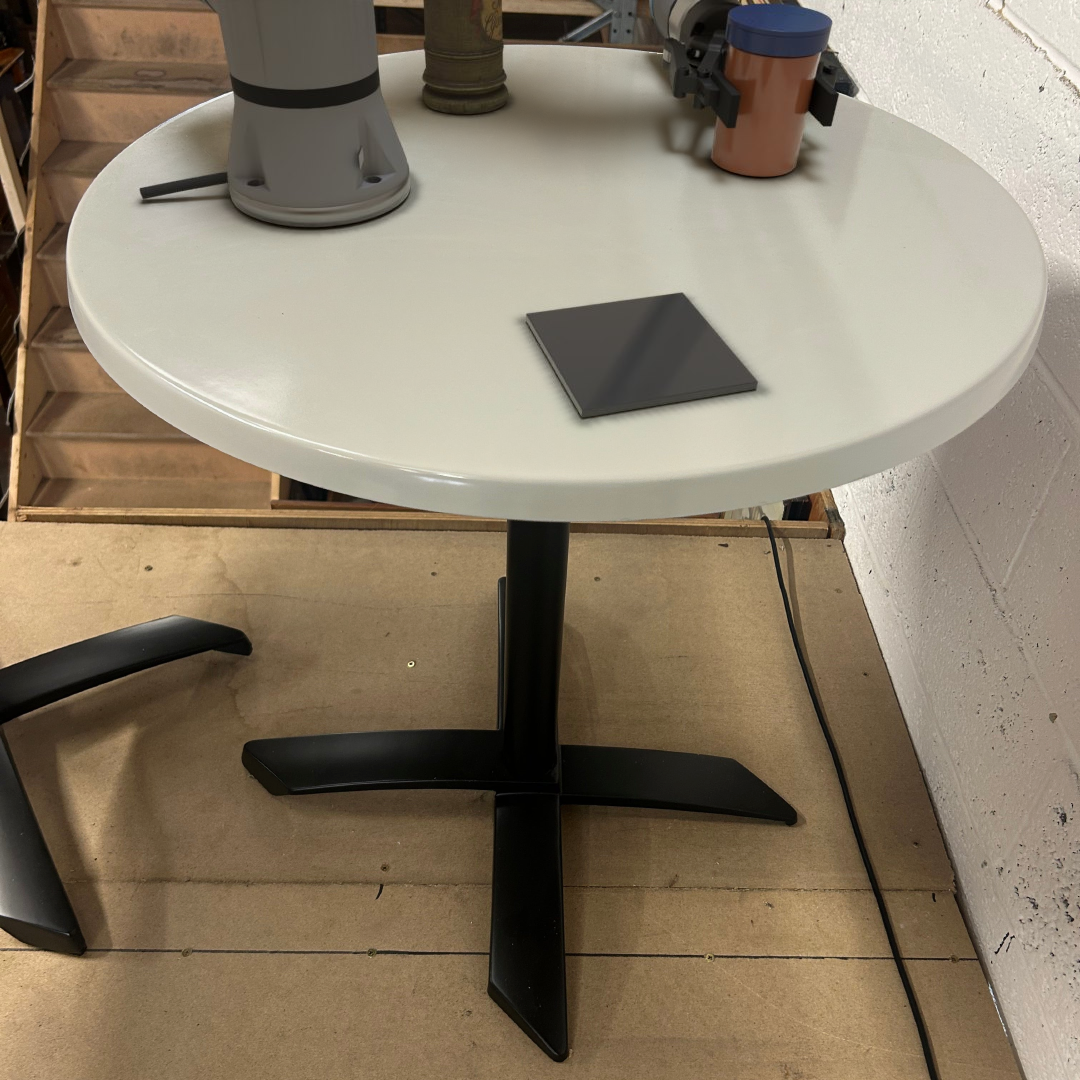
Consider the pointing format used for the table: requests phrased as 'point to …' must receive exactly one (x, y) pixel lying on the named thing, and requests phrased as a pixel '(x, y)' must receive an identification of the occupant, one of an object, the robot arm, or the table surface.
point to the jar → (765, 112)
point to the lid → (778, 29)
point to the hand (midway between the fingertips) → (782, 111)
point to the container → (464, 56)
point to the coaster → (637, 354)
